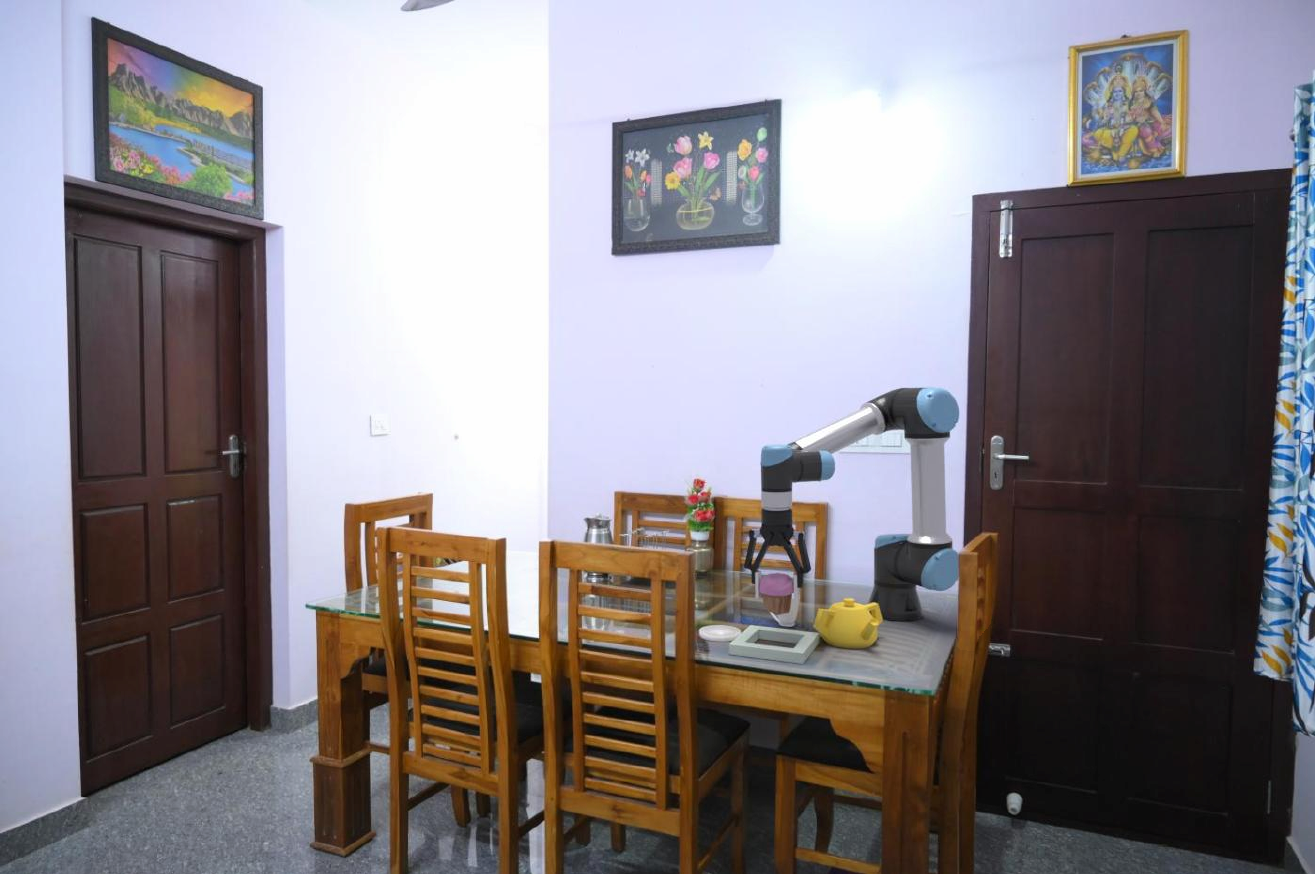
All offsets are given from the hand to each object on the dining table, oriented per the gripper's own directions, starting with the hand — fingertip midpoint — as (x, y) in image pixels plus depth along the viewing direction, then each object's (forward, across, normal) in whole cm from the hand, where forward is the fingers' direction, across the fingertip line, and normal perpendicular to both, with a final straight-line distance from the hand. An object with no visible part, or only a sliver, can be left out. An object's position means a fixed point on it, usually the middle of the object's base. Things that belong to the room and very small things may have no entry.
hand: (777, 598), depth 202 cm
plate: (+12, +16, -4) cm, 21 cm away
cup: (+13, +4, -22) cm, 26 cm away
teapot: (+13, -16, -11) cm, 24 cm away
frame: (+12, 0, +1) cm, 12 cm away
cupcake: (+4, 0, 0) cm, 4 cm away
